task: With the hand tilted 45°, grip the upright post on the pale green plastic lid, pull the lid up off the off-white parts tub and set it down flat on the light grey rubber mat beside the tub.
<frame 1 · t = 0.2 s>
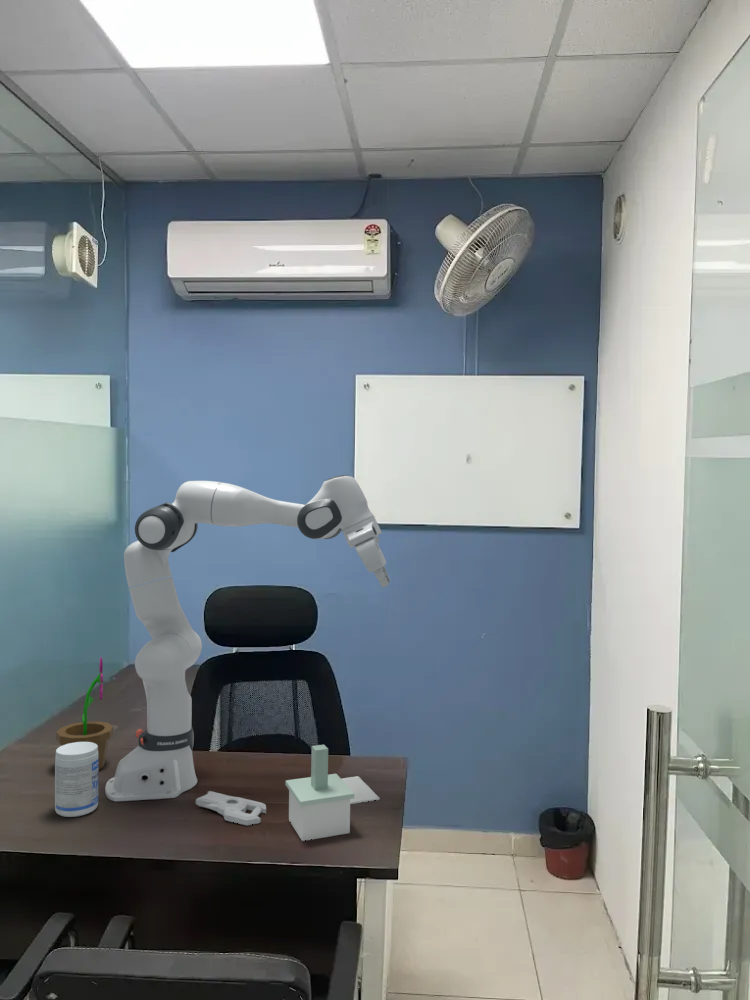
hand: (386, 585, 182), 53 cm above the table, tool tilted 25°, fingers open, 8 cm apart
flowerpot: (84, 767, 200), on the table
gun: (231, 814, 173), on the table
mat: (341, 792, 186), on the table
lid: (319, 794, 167), point 7 cm above the table, touching tub
tub: (318, 826, 167), on the table
supplement tub: (76, 810, 174), on the table
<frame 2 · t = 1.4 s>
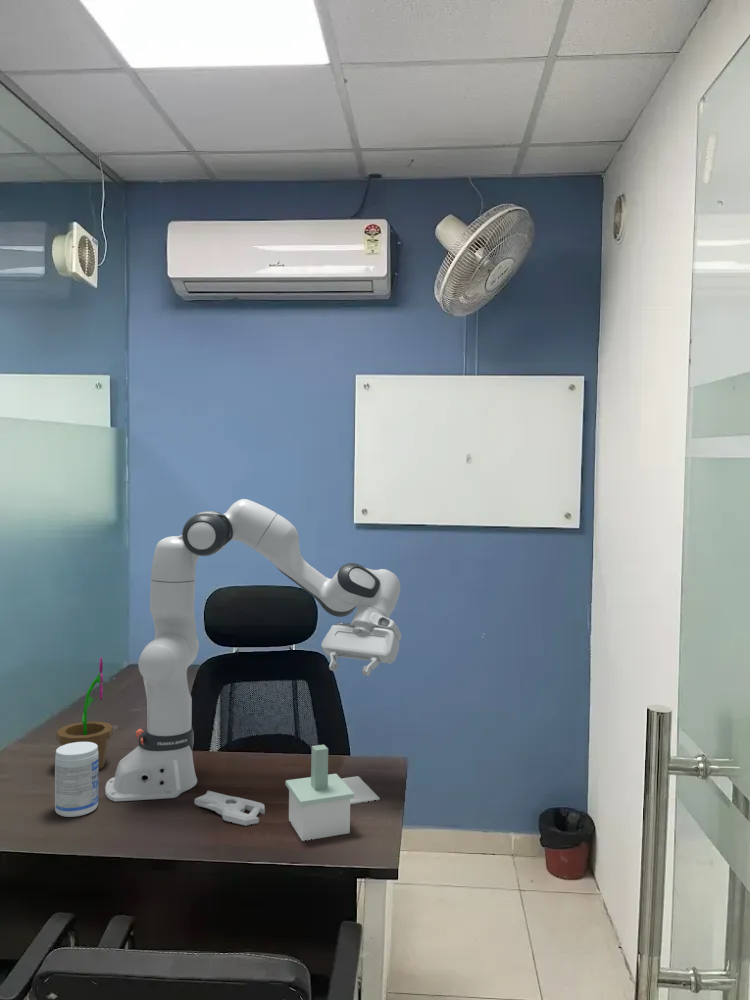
hand: (348, 671, 180), 32 cm above the table, tool tilted 45°, fingers open, 8 cm apart
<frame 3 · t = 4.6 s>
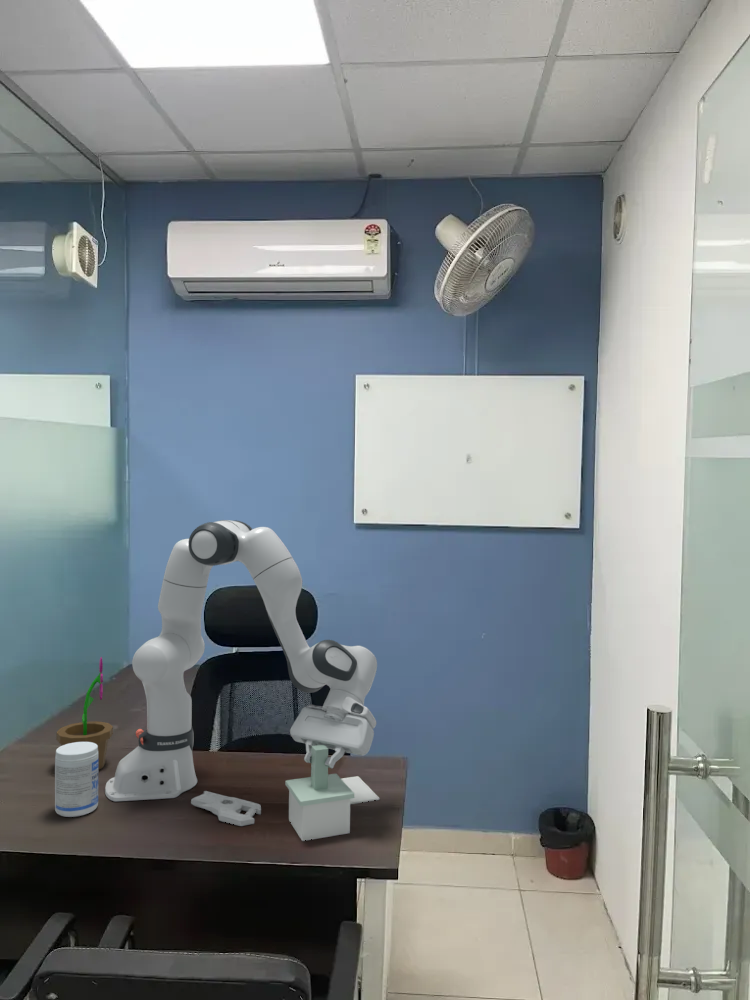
hand: (318, 764, 166), 14 cm above the table, tool tilted 45°, fingers closed on lid, 4 cm apart
lid: (319, 794, 167), point 7 cm above the table, touching gripper, tub
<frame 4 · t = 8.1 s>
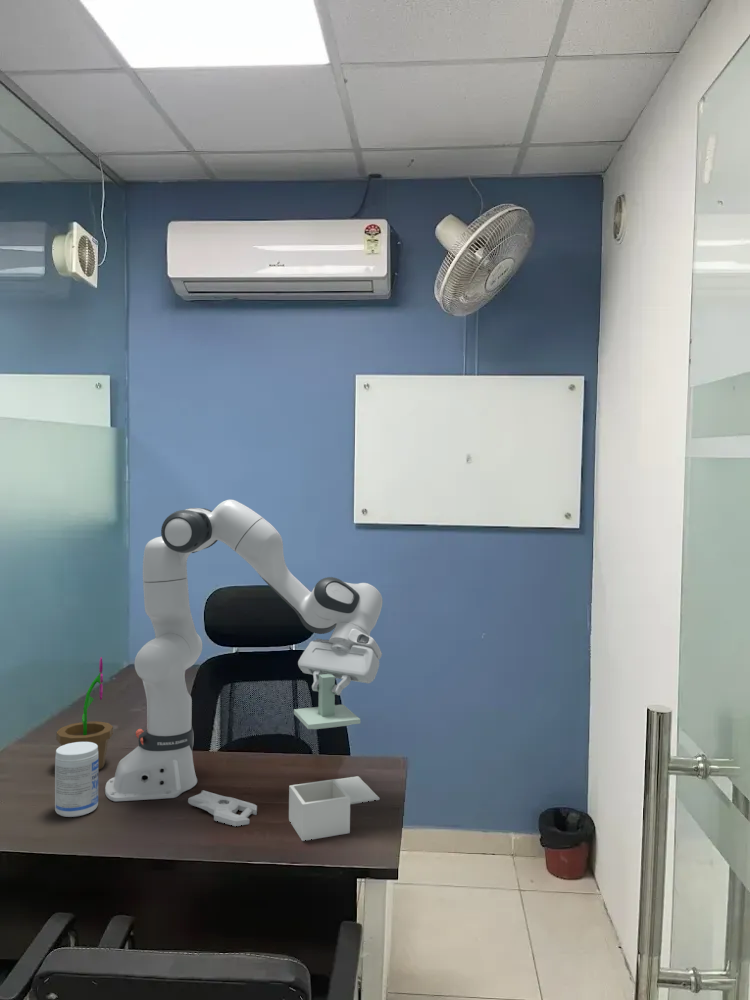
hand: (325, 691, 171), 29 cm above the table, tool tilted 45°, fingers closed on lid, 4 cm apart
lid: (326, 721, 172), point 22 cm above the table, touching gripper
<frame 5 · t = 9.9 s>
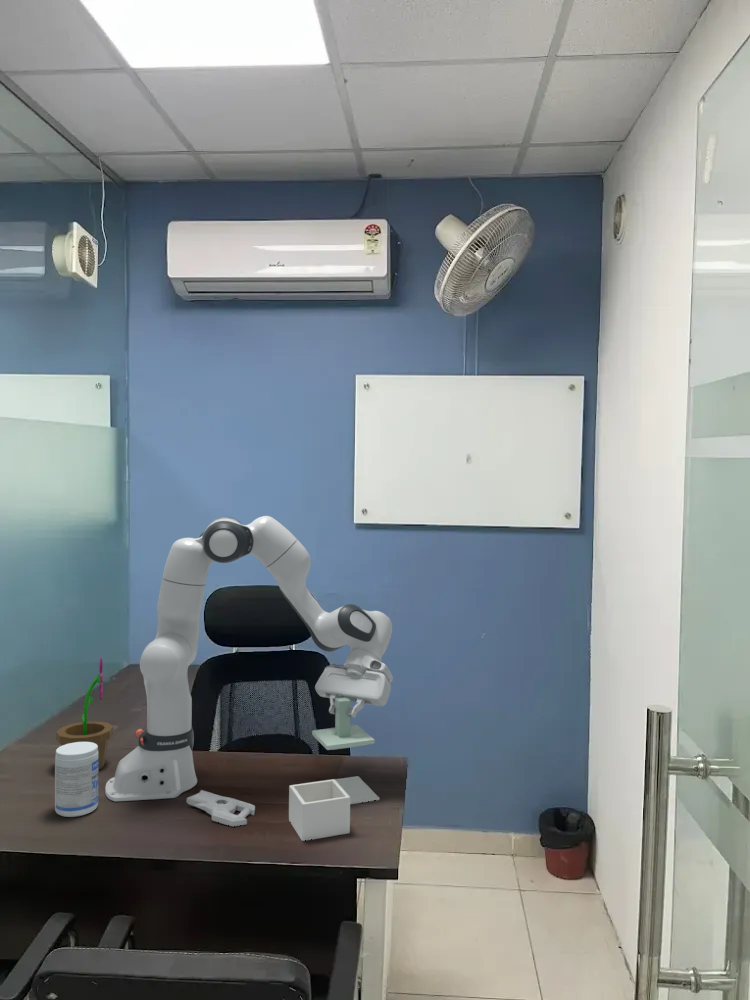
hand: (341, 714, 185), 20 cm above the table, tool tilted 45°, fingers closed on lid, 4 cm apart
lid: (342, 742, 186), point 13 cm above the table, touching gripper
when the fingers open (9 cm above the table, at t = 11.6 s): lid drops 1 cm, resting on mat.
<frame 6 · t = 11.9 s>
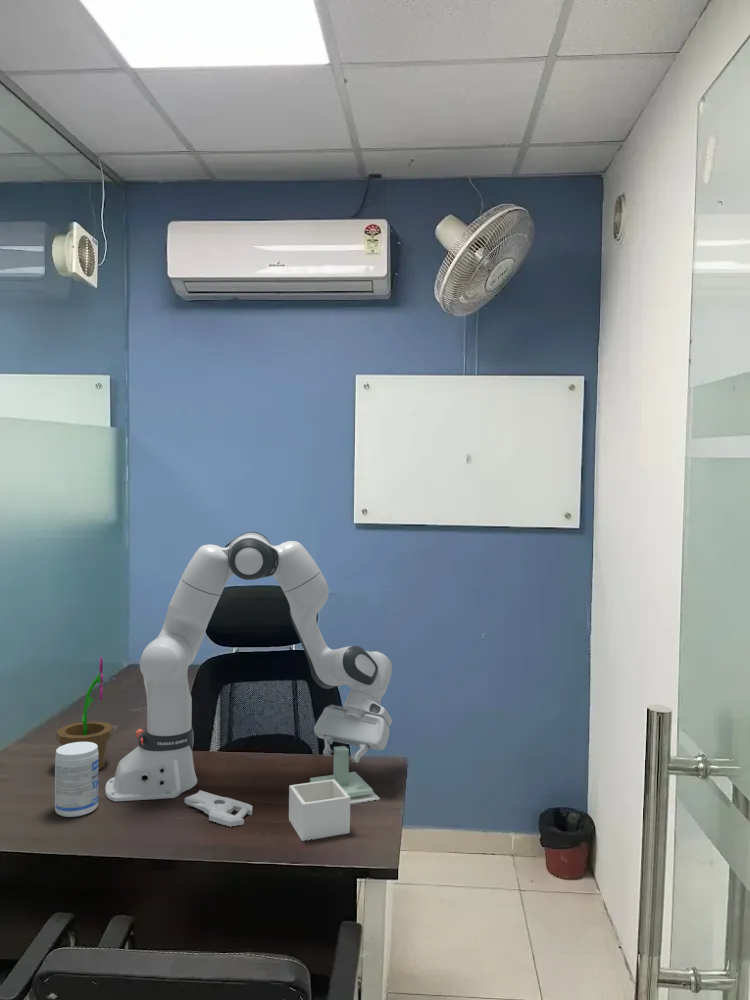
hand: (340, 758, 185), 9 cm above the table, tool tilted 45°, fingers open, 7 cm apart
lid: (340, 790, 186), resting on mat
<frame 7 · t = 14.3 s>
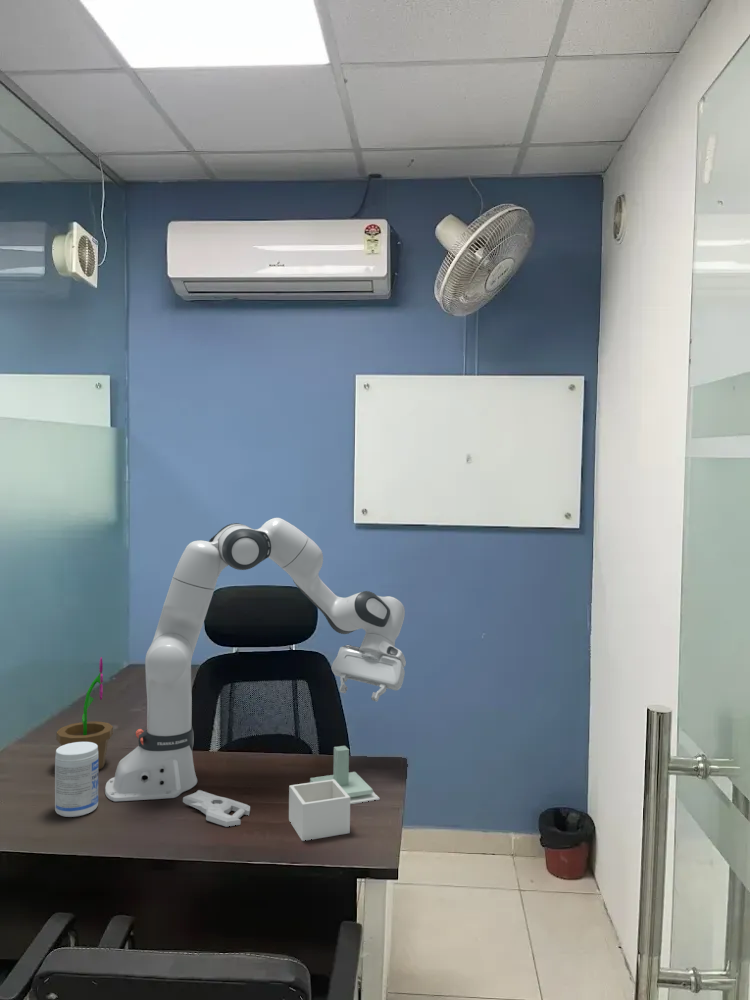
hand: (358, 696, 196), 22 cm above the table, tool tilted 40°, fingers open, 8 cm apart
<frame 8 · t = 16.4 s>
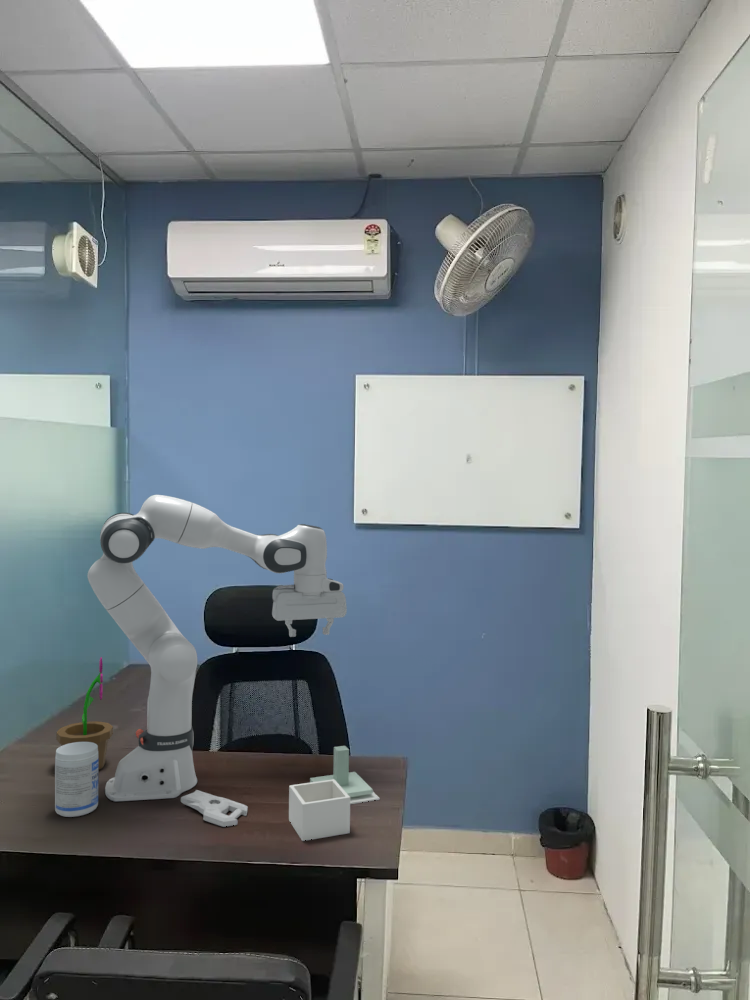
hand: (309, 635, 199), 37 cm above the table, tool pointing down, fingers open, 8 cm apart
at the end: lid inside the target area on the mat (0.1 cm from its centre), point 0.4 cm above the mat's base; lid tilted 0°; lid touching mat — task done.
